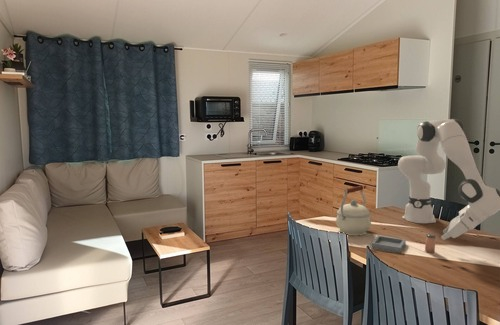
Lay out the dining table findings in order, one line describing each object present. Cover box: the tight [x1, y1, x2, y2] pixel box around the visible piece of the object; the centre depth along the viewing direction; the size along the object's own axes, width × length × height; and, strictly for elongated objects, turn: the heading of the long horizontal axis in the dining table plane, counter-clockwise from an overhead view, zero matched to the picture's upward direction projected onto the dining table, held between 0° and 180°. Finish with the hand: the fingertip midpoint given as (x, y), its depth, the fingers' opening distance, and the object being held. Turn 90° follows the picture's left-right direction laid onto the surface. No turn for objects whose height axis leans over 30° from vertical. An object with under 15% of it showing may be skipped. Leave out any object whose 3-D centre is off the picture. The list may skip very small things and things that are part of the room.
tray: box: [371, 234, 407, 254], centre depth 183 cm, size 13×13×2 cm
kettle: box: [335, 185, 372, 237], centre depth 206 cm, size 25×18×25 cm
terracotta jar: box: [424, 233, 436, 254], centre depth 175 cm, size 4×4×8 cm
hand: (443, 235), depth 172 cm, fingers open, 8 cm apart
